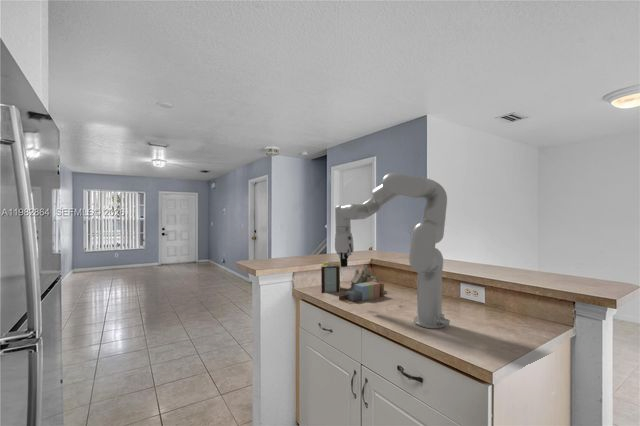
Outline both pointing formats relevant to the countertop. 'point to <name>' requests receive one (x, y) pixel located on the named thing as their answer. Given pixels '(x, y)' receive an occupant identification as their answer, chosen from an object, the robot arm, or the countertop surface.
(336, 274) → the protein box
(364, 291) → the book
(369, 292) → the book
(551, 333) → the countertop surface
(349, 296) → the dark grey block
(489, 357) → the countertop surface
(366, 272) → the ceramic cottage
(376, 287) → the book
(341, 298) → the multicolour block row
